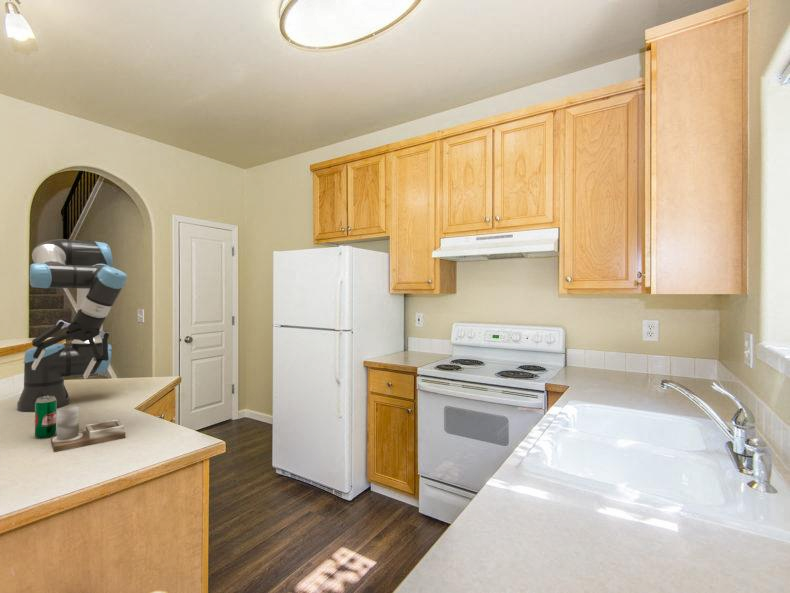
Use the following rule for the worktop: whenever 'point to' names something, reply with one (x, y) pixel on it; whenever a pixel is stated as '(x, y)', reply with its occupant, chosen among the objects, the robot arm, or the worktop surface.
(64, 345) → the robot arm
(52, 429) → the soda can
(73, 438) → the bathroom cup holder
